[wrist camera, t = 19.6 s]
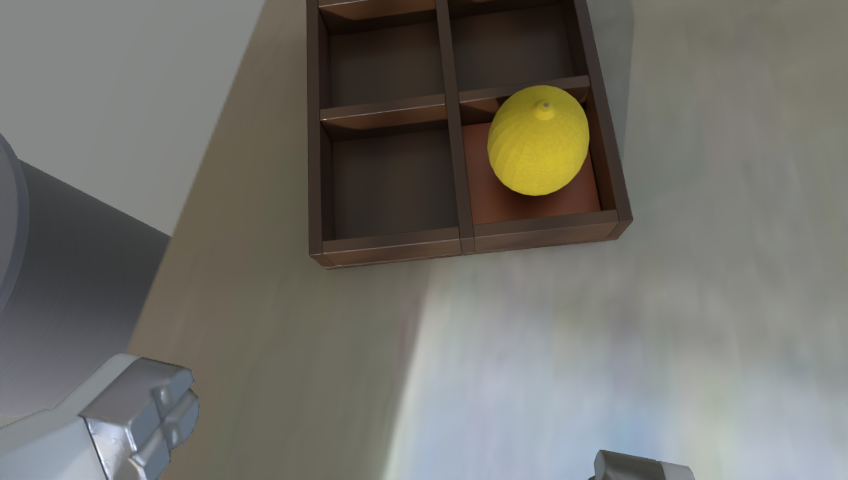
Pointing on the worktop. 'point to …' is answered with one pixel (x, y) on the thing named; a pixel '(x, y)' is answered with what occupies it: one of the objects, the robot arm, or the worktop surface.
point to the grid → (446, 129)
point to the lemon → (538, 140)
